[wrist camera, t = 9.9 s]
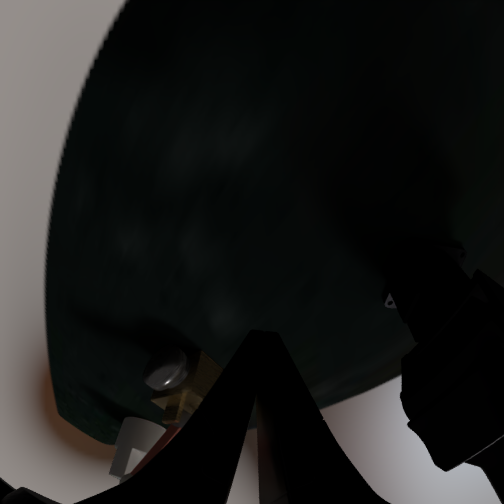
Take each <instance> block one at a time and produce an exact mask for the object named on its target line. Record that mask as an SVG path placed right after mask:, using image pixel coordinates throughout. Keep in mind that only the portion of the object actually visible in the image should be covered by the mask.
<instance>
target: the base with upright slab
mask: <svg viewBox="0 0 504 504" xmlns="http://www.w3.org/2000/svg"><path fill="white" fill-rule="evenodd" d="M165 431H166V429H165V428H163V427H161V426H160V425H157V424H155V423H153V422H150V421H148V420H145V419H141V418H137V417H126V418H124V421H123V423H122V426H121V429H120V432H119V435H118V437H117V440H116V443H115V448H116V449H117V451H116V454H115V457H114V460H113V463H112V466H111V469H110V472H109V474H110V475H112V476H113V477H115V478H117V479H119V480H120V479H121V477H122V476H123V475H125V474H128V473H131V471H132V470H133V469H134V468H135V467H136V466H137V465H138V463H139V462H140V461H141V460H142V459H143V458H144V456H145V455H146V454H147V453H148V452H149V451H150V449H151V448H152V447H153V446H154V445H155V443H156V442H157V441H158V440H159V439H160V437H161V436H162V435H163V434H164V433H165Z"/></svg>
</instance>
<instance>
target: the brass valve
mask: <svg viewBox="0 0 504 504" xmlns="http://www.w3.org/2000/svg"><path fill="white" fill-rule="evenodd" d="M223 370H224V369H222V368H221V367H220V366H219V365H218V364H217V363H216V362H214V361H213V360H212V359H211V358H210V357H209V356H208V355H206V354H205V353H204V352H203V351H199V352H196V353H193V354H191V355H188V356H186V354H185V353H184V352H183V351H182V350H181V349H179V348H178V347H177V346H176V345H174V344H170V345H167V346H165V347H163V348H161V349H160V350H159V351H157V352H156V353H155V354H154V355H153V356H152V358H151V359H150V360H149V362H148V363H147V365H146V367H145V369H144V372H143V381H144V382H145V383H146V384H147V385H149V386H150V387H151V388H153V389H154V391H153V394H152V397H151V399H150V400H151V401H152V402H154V403H155V404H157V405H158V406H160V407H161V408H163V409H164V410H165V412H164V415H163V418H162V422H163V423H164V424H170V423H178V422H180V418H181V414H182V410H183V409H184V410H186V411H187V412H189V413H190V414H193V413H194V411H195V410H196V409H198V406H199V405H200V403H201V402H202V400H203V399H204V398H205V396H206V395H207V393H208V392H209V390H210V389H211V388H212V386H213V385H214V383H215V382H216V380H217V379H218V378H219V376H220V375H221V373H222V372H223Z"/></svg>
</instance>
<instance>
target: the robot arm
mask: <svg viewBox="0 0 504 504" xmlns="http://www.w3.org/2000/svg"><path fill="white" fill-rule="evenodd" d="M413 243H415V244H414V246H412V247H411V245H412V244H413ZM461 253H462V254H461ZM466 254H467V252H466V250H465V249H464V248H462V247H457V246H452V245H447V244H442V243H437V242H432V241H427V240H422V239H416V238H411V239H409V240H408V241H407V243H406V246H405V249H404V252H403V254H402V257H401V260H400V262H399V263H398V265H397V267H396V270H395V272H394V275H393V277H392V280H391V282H390V285H389V287H388V292H387V294H386V296H385V298H384V301H383V302H384V304H385V306H386V307H388V308H397V310H398V312H399V314H400V316H401V318H402V320H403V322H404V323H407V324H408V326H409V329H410V331H411V333H412V335H413V338H414V340H415V342H419V343H418V344H417V345H416V346H415V347H414V348H413V349H412V350H411V351H410V352H409V353H408V354H406V355H405V356H404V357H403V358H402V359H401V366H402V391H401V393H400V399H401V402H402V406H403V409H404V412H405V414H406V416H407V417H408V419H409V420H410V421H409V422H408V423H407V425H408V427H409V428H410V429H411V430H412V431H414V432H415V433H416V434H417V435H418V436H419V438H420V439H421V440H422V441H423V443H424V444H425V446H426V448H427V450H428V452H429V454H430V456H431V458H432V460H433V462H434V464H435V465H436V466H437V467H439V468H440V469H442V470H443V471H445V472H447V471H449V470H451V469H453V468H455V467H457V466H458V465H460V464H462V463H464V462H465V463H468V464H471V465H474V466H478V467H480V468H481V469H482V470H483V471H484V473H485V474H486V476H487V478H488V479H489V481H490V483H491V485H492V486H493V488H494V490H495V492H496V494H497V496H498V498H499V499H500V501H501V503H502V504H504V288H503V287H502V286H500V285H499V284H498V283H496V282H495V281H494V280H492V279H491V278H490V277H488V276H487V275H486V274H484V273H483V272H482V271H480V270H479V269H477V270H476V271H475V273H474V274H473V278H472V279H470V278H469V277H468V276H467V274H466V273H465V272H464V271H463V270H462V268H461V266H462V264H463V262H464V259H465V257H466ZM389 301H390V302H389ZM255 397H256V411H257V442H258V470H259V471H258V473H259V501H260V504H390V503H389V502H387V501H385V500H384V499H382V498H381V497H380V496H379V495H377V494H376V493H375V492H374V491H373V490H372V488H371V487H370V486H369V485H368V483H367V482H366V481H365V480H364V479H363V477H362V476H361V474H360V473H359V472H358V470H357V469H356V468H355V467H354V465H353V464H352V463H351V461H350V460H349V459H348V457H347V456H346V454H345V453H344V451H343V450H342V449H341V447H340V446H339V444H338V443H337V441H336V439H335V438H334V436H333V434H332V433H331V431H330V429H329V427H328V425H327V423H326V422H325V420H323V416H322V414H321V413H320V411H319V409H318V407H317V405H316V403H315V401H314V400H313V398H312V396H311V394H310V392H309V390H308V388H307V386H306V385H305V383H304V381H303V379H302V377H301V375H300V373H299V371H298V369H297V368H296V366H295V364H294V362H293V360H292V358H291V356H290V354H289V352H288V350H287V349H286V347H285V345H284V343H283V341H282V339H281V337H280V335H279V334H278V333H277V332H270V331H266V332H265V333H264V331H261V330H250V332H249V333H248V335H247V336H246V338H245V339H244V341H243V342H242V344H241V345H240V347H239V348H238V350H237V351H236V353H235V354H234V356H233V357H232V359H231V360H230V361H229V363H228V364H227V366H226V367H225V369H224V370H223V372H222V373H221V375H220V376H219V378H218V379H217V380H216V382H215V383H214V385H213V386H212V388H211V389H210V390H209V392H208V393H207V395H206V396H205V398H204V399H203V400H202V402H201V403H200V405H199V406H198V409H196V410H195V411H194V413H193V414H192V416H191V417H190V418H189V420H188V421H187V422H186V423H185V425H184V426H183V427H182V428H181V430H180V431H179V432H178V433H177V434H176V435H175V436H174V437H173V438H172V440H171V441H170V442H169V443H168V444H167V445H166V446H165V447H164V448H163V449H162V450H161V451H160V452H159V453H157V454H156V455H155V456H154V457H153V458H152V459H151V460H150V461H149V462H148V463H147V464H146V465H145V466H144V467H143V468H142V469H140V470H139V471H138V472H137V473H136V474H134V475H133V476H132V477H131V478H129V479H128V480H126V481H125V482H123V483H121V484H119V485H117V486H115V487H113V488H110V489H108V490H106V491H104V492H102V493H99V494H97V495H94V496H92V497H90V498H87V499H84V500H82V501H79V502H77V503H74V504H226V503H227V499H228V496H229V493H230V489H231V486H232V483H233V479H234V475H235V472H236V469H237V465H238V461H239V458H240V454H241V451H242V446H243V443H244V440H245V436H246V432H247V429H248V425H249V421H250V417H251V413H252V409H253V405H254V401H255ZM0 504H60V503H58V502H56V501H53V500H51V499H49V498H46V497H44V496H42V495H40V494H38V493H36V492H34V491H32V490H30V489H27V488H25V487H20V488H19V489H17V490H16V489H14V488H13V487H12V486H10V485H9V484H8V483H7V482H5V481H4V480H3V479H2V478H0Z"/></svg>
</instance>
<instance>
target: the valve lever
mask: <svg viewBox="0 0 504 504" xmlns="http://www.w3.org/2000/svg"><path fill="white" fill-rule="evenodd" d="M191 416H192V414H190V413H189V412H187V411H186V410H184V409H183V410H182V414H181V418H180V422H178V423H171V425H170V427H169V428H168V429H167V430H166V431H165V433H164V434H163V435H162V436H161V437H160V439H159V440H158V441H157V442H156V443H155V445H154V446H153V447H152V448H151V449H150V451H149V452H148V453H147V454H146V455H145V456H144V458H143V459H142V460H141V461H140V462H139V463H138V465H137V466H136V467H135V468H134V469H133V470H132V471H131V473H128V474H125V475H123V476H122V477H121V479H120V483H119V484H121V483H123V482H125V481H126V480H128V479H129V478H131V477H132V476H133V475H134V474H136V473H137V472H138V471H139V470H140V469H142V468H143V467H144V466H145V465H146V464H147V463H148V462H149V461H150V460H151V459H152V458H153V457H154V456H155V455H156V454H157V453H159V452H160V451H161V450H162V449H163V448H164V447H165V446H166V445H167V444H168V443H169V442H170V441H171V440H172V438H173V437H174V436H175V435H176V434H177V433H178V432H179V431H180V430H181V428H182V427H183V426H184V425H185V423H186V422H187V421H188V420H189V418H190V417H191Z"/></svg>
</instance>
